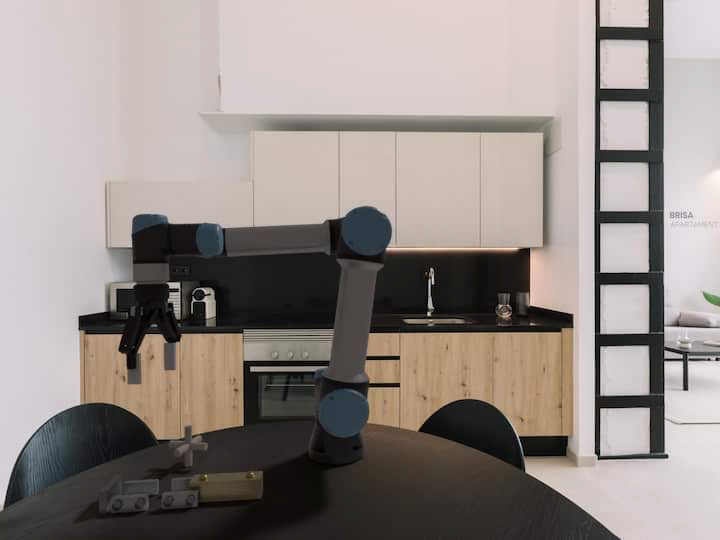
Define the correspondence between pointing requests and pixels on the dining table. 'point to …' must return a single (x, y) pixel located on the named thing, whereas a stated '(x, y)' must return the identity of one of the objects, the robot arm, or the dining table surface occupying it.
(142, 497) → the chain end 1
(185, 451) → the pipe connector
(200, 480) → the link
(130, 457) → the dining table surface
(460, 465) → the dining table surface
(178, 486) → the chain end
